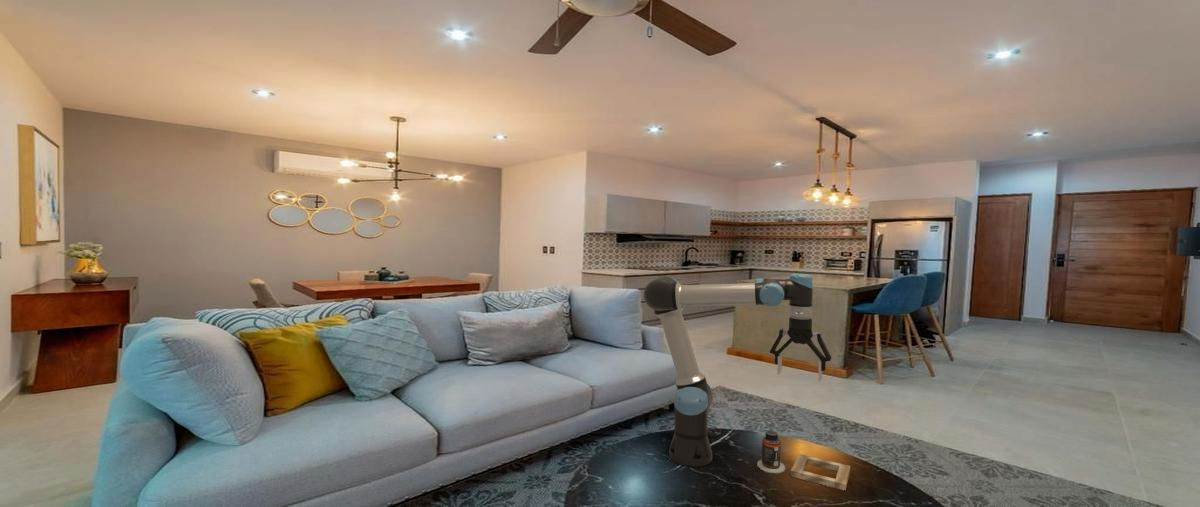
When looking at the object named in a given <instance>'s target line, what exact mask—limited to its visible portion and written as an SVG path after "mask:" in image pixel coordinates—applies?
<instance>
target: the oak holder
mask: <svg viewBox="0 0 1200 507" xmlns="http://www.w3.org/2000/svg"><path fill="white" fill-rule="evenodd" d="M807 465H810V466H815V467H819V468H823V469H827V470H830V471H834V472H837V474H836V477H835V478H833V477H829V476H825V475H820V474H818V473H813V472H810V471H805V470H806V468H807ZM850 474H851V465H848V464H843V463H840V462H835V461H831V460H826V459H822V458H819V457H815V456H810V455H805V454H803V453H802V454H801V453H798V455H797V458H796V460H795V462H794V464H793V465H792V467H791V469H790V477H792V478H796V479H799V480H803V481H807V482H810V483H813V484H817V483H818V485H821V484H822V486H825V485H826V487H829V488H833V489H837V490H841V491H844V490H845V491H846V490H847V486H848V481H849V478H850Z"/></svg>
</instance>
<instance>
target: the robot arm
mask: <svg viewBox="0 0 1200 507" xmlns="http://www.w3.org/2000/svg"><path fill="white" fill-rule="evenodd" d="M813 286H814V284H813V276H812V275H810V274H807V273H791V274H789V278H785V279H783V278H782V279H781V278H779V279H778V278H756V279H755V280H754V282H748V283H747V282H745V283H711V284H707V283H706V284H685V285H683V284H681V283H680V282H678V281H677V280H676V279H675V278H673V277H670V276H659V277H657V278H655V279H653V280H651V281H650V282H649V283H647V284H646V286H645V287H644V290H643V299H644V302H645V304H646V305H647V306H648V307H649V308H650V309H653V313H654V315H655V316H656V317H658V319H660V322H661V326H662V329H663V333H664V336H665V338H666V342H667V345H668V348H669V351H670V356H671V359H672V363H673V366H674V369H675V372H676V375H677V379H676V381H675V385H676V390H677V391H675V393H674V398H673V406H674V419H673V420H674V422H673V425H674V428H673V429H674V431H673V432H674V434H673V436H672V440H671V442H670V446H669V450H668V453H669V454H668V455H669V458H670V459H671V460H672V461H673V462H674V463H676V464H679V465H681V466H686V467H695V468H697V467H703V466H706V465H709V464H711V462H712V461H713V451H712V450H713V449H712V447H711V444H710V441H709V437H708V420H709V419H708V418H709V416H708V415H709V412H710V408H711V405H712V404H713V400H714V399H713V397H714V396H713V395H714V394H713V392H712V388H711V386H710V384H709V383H708V382H707V378H706V375H705V374H703V373H702V372H700V369H699V365H698V362H697V359H696V356H695V353H694V349H693V346H692V342H691V340H690V336H689V332H688V330H687V326H686V323H685V319H684V316H683V313H682V312H683V310H684V308H685V307H715V306H717V307H718V306H720V307H721V306H753V305H754V306H767V307H777V306H779V305H780V304H781V303H782V302H783V301H789V302H788V303H789V304H788V307H789V308H788V315H789V318H788V330H787V329H785V328H781V329H779V332H778V336H777V338H776V339H775V342H774V343H773V344H772V346H771V348H770V350H769V353H770V354H772V355H774V364H775V365H777V375H781V374H782V364H783V363H782V362H783V359H782V358H783V355H782V354H781V353H782V352H783V351H784V350H785V349H786V348H787V347H788V346H789V345H790V344H792V343H794V344H798V345H799V344H800V345H807V346H808V347H809V348H810V349H811V350H812V352H813V353H814V354H815V355H816V357H818V359H819V360H818V373H817V374H818V381H819V382H821V381H822V379H823V372H825V371H826V365H827V364H826V363H827V362H831V360H832V356H831V353H830V352H829V350H828V348H827V345H826V344H825V342H824V340H823V334H822V332H820V331H819V332H813V319H812V317H813V294H814V293H813V292H814V291H813V290H814V287H813ZM786 334H787V335H788V337H789V339H787V341H786V342H785V343H783V345H782V346H780V348H778V346H779V344H780V343H781V340H782V339H783V337H784V336H786ZM812 338H814V339H815V340H816V341H817V342H818V345H819V347H820V349H821V351H822V352H821V351H820V349H819V348H818V347H817V346H816V345H815V343H814V342H813V340H812ZM777 348H778V350H776V349H777Z"/></svg>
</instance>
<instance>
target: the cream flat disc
mask: <svg viewBox="0 0 1200 507" xmlns="http://www.w3.org/2000/svg"><path fill="white" fill-rule="evenodd" d="M758 467H759V468H760V469H759V468H758ZM757 468H758V469H759V470H761V471H762V470H763V472H765V473H768V474H773V473H774V474H775V475H776V474H777V475H778V474H782V472H783V473H784V472H785V471H786V465H784V463H783V462H781V461H780V467H779V468H776V469H772V468H768V467H765V466H764V465H763V464H762V459H759V460H758V461H757Z"/></svg>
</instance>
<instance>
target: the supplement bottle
mask: <svg viewBox="0 0 1200 507" xmlns="http://www.w3.org/2000/svg"><path fill="white" fill-rule="evenodd" d="M764 432H765V434H764V436H763V438H762V442H761V445H762V447H761V460H762V464H763V465H764V466H765V467H768V468H772V469H776V468H779V467H780V462H781V450H782V449H781V448H782V447H781V446H782V444H781V440H780V438H778V437H779V436H778V435H779V434H778V433H779V432H777V431H774V430H766V431H764Z"/></svg>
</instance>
